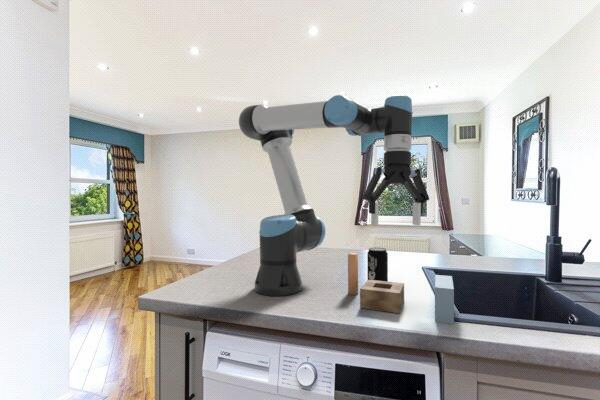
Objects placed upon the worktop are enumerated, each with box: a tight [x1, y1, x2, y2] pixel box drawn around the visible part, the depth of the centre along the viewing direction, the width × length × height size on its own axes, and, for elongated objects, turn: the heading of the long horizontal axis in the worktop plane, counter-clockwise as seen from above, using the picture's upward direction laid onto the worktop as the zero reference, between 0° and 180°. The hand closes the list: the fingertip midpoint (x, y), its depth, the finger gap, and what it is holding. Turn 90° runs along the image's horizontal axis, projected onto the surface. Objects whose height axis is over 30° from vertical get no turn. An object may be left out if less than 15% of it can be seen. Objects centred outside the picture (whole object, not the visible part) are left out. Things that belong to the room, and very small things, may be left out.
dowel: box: [347, 252, 359, 296], centre depth 94 cm, size 3×3×12 cm
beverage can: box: [367, 247, 389, 282], centre depth 104 cm, size 7×7×12 cm
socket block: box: [359, 279, 405, 314], centre depth 84 cm, size 10×10×5 cm
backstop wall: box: [434, 274, 455, 325], centre depth 77 cm, size 4×13×8 cm, turn 156°
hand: (395, 225), depth 90 cm, fingers open, 13 cm apart
